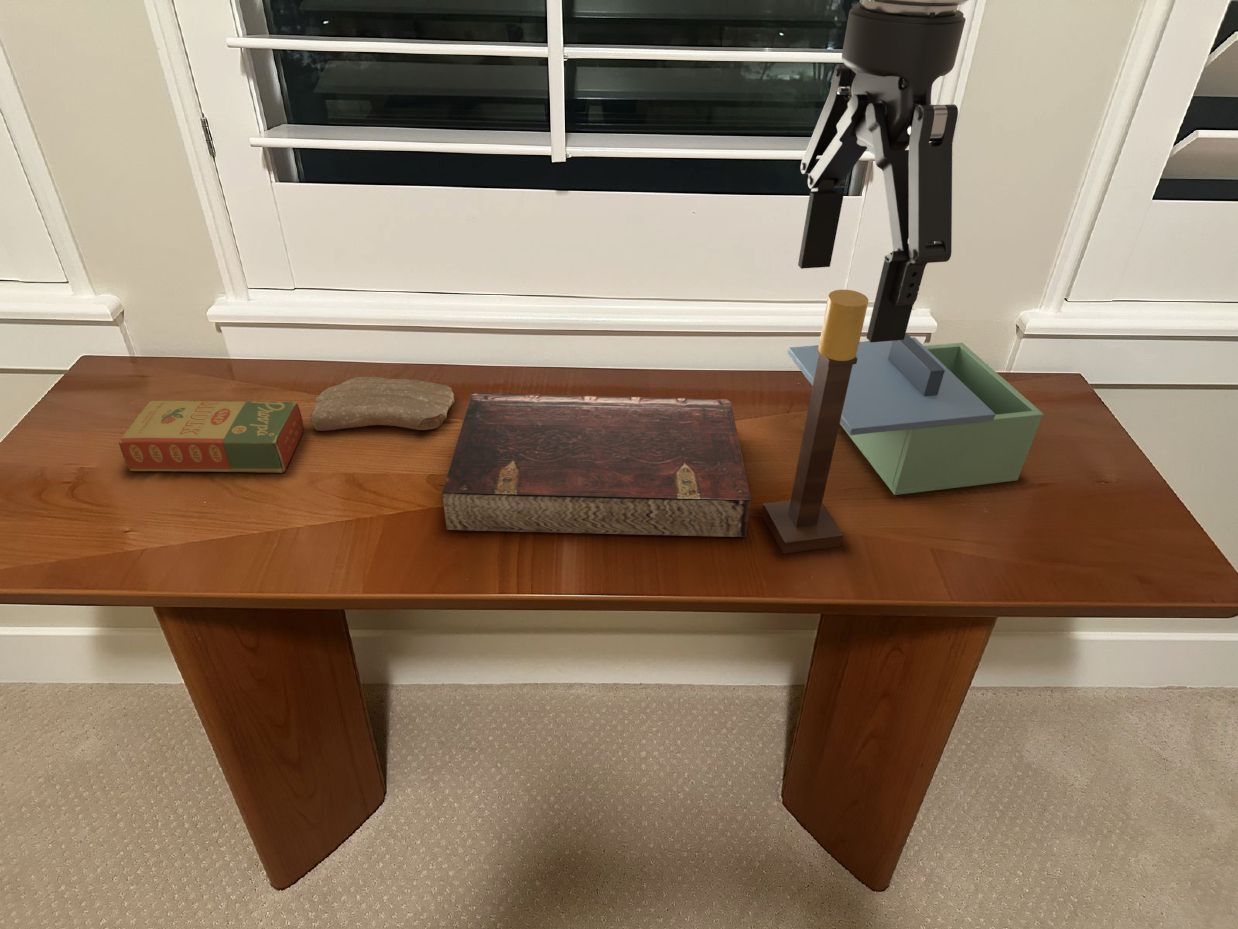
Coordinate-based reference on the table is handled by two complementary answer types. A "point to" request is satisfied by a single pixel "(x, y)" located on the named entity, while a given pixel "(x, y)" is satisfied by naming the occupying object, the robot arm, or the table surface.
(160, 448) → the carton
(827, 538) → the stand
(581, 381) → the table surface
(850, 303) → the peg
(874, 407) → the lid
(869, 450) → the bin
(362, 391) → the decorative stone
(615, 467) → the hardback book
